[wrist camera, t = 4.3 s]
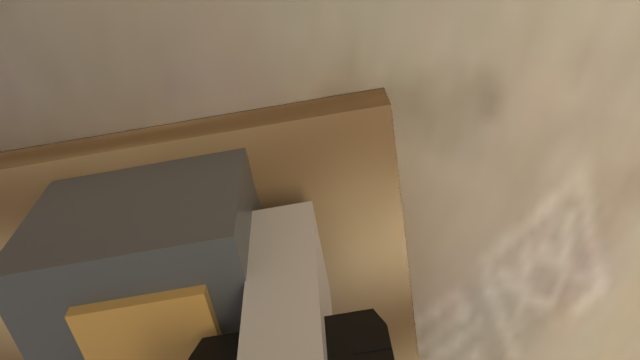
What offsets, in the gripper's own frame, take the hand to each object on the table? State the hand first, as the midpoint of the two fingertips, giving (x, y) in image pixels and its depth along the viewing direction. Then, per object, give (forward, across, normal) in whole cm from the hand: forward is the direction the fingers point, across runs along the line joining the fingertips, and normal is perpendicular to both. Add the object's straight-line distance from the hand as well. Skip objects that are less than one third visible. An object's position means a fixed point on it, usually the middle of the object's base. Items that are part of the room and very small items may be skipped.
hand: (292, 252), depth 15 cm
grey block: (+1, -3, 0) cm, 3 cm away
